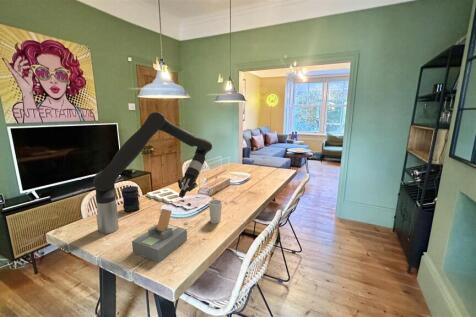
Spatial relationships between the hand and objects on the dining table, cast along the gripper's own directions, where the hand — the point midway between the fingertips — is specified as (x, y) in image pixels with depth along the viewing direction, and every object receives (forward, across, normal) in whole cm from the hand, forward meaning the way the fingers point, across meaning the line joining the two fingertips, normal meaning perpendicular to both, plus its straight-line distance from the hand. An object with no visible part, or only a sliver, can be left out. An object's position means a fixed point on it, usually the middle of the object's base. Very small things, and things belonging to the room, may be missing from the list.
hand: (180, 197), depth 124 cm
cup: (+1, +11, +27) cm, 29 cm away
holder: (-8, -34, +37) cm, 51 cm away
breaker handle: (+21, 0, -2) cm, 21 cm away
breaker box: (+26, 0, +3) cm, 26 cm away
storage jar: (+9, -47, +20) cm, 52 cm away
